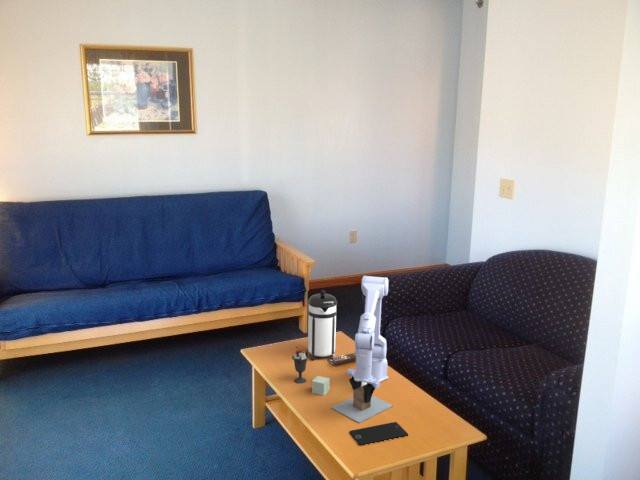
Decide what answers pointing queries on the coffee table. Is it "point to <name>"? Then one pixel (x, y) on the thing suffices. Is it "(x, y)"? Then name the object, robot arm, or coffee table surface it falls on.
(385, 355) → the robot arm
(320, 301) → the coffee press
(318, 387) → the sage block
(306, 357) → the sundae
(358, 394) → the walnut block
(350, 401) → the slate board
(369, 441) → the cell phone
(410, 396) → the coffee table surface
